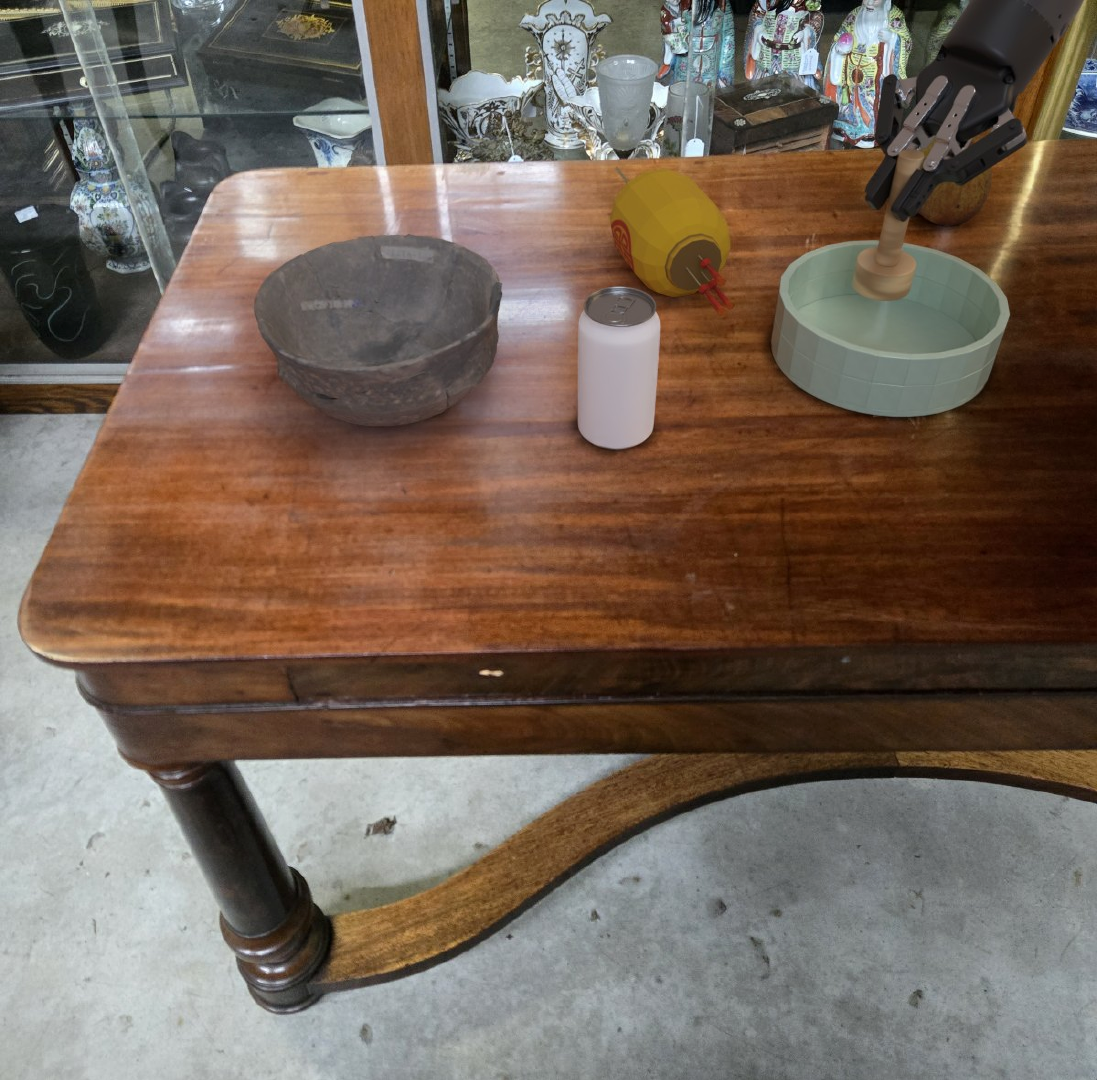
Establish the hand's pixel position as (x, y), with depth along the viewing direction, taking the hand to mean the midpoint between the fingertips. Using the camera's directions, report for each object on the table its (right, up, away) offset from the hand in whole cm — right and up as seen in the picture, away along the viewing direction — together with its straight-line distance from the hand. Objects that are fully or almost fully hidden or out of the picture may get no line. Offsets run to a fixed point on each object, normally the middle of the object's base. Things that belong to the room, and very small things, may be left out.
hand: (884, 209), depth 85 cm
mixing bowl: (+3, -10, +11) cm, 15 cm away
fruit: (+15, +9, +29) cm, 34 cm away
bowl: (-42, -14, +8) cm, 44 cm away
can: (-22, -18, +3) cm, 28 cm away
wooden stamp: (+2, -5, +6) cm, 8 cm away
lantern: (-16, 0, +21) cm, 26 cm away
